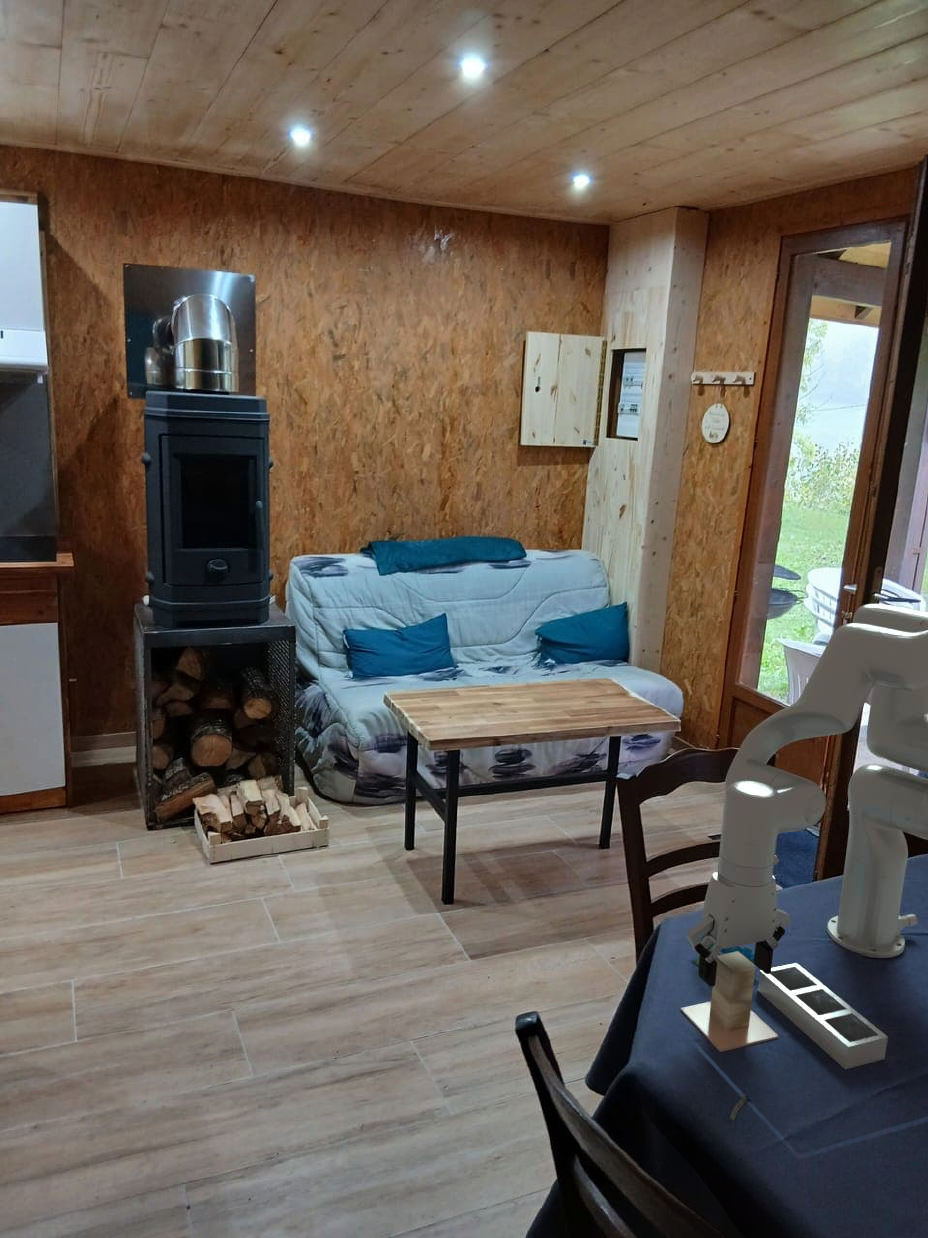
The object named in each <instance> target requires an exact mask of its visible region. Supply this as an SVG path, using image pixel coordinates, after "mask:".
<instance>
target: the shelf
mask: <svg viewBox="0 0 928 1238" xmlns="http://www.w3.org/2000/svg"><path fill="white" fill-rule="evenodd" d="M758 977H759V978H758V986H757V992H758V993H759V994H760V995H762V996H763V997H764V998H765V1000H767V1001H768V1002H769V1003H771V1004H772V1005H773V1007H775V1008H776V1009H777V1010H779V1011H780V1013H782V1014H783V1015H784V1016H785V1017H786V1018H787V1019H788V1020H790V1021H791V1023H793V1024H794V1025H795V1026H796V1027H797V1028H799V1029H800V1031H802V1032H803V1033H804V1034H805V1035H806V1036H807V1037H808V1038H810V1039H811V1041H813V1042H814V1043H815V1044H816V1045H817V1046H818V1047H820V1048H821V1049H822V1050H823V1052H825V1053H826V1054H827V1055H828V1056H830V1057H831V1058H832V1059H833V1060H834V1061H835V1062H836V1063H838V1065H840V1067H842V1068H843V1070H849V1069H852V1068H856V1067H859V1066H864V1065H867V1064H871V1063H875V1062H879V1061H882V1060H885V1058H886V1051H887V1046H888V1045H887V1044H888V1038H889V1037H888V1036H887V1035H886V1034H885V1033H884V1032H883V1031H881V1030H880V1029H879V1028H878V1027H877V1026H875V1025H874V1024H873V1023H871V1022H870V1021H869V1020H868V1019H867V1018H866V1017H864V1016H863V1015H861V1014H860V1013H859V1012H858V1011H857V1010H855V1009H854V1008H853V1007H851V1005H849V1004H848V1003H847V1002H846V1001H844V1000H843V999H842V998H841V997H840V996H838V995H837V994H836V993H834V992H833V991H832V990H830V989H829V988H828V987H827V986H826V985H824V984H823V982H821V981H820V980H819V979H818V978H816V977H814V976H813V975H812V974H811V973H810V972H808V971H807V970H806V969H805V968H803V966H801V965H800V964H798V963H797V962H794V963H790V964H785V965H781V966H775V967H771V973H770V974H765V973H764V972H763V971H762V970H760V969H759V976H758Z"/></svg>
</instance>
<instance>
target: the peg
mask: <svg viewBox="0 0 928 1238" xmlns="http://www.w3.org/2000/svg"><path fill="white" fill-rule="evenodd" d="M714 960H715V961H716V962H717V971H716V982H715V985H714V986H713V987H711V988H712V990H711V1000H710V1002H711V1007H710V1017H711V1018H712V1019H713V1020H714V1021H715V1022H716V1023H717V1024H718V1025H719V1026H720V1027H721V1028H722V1029H723V1030H724V1031H725V1032H726V1033H727V1032H731V1031H735V1030H739V1029H743V1028H747V1027H749V1021H750V1012H751V1010H752V1001H753V993H754V983H755V974H756V968H757V966H755V965H754V964H753V963H752V962H751V961H749V960H748V959H747V958H746V957H745V956H743V955H742V954H741V953H740V952H739V951H736V952H732V953H727V954H723V953H722V954H721V955H718V956H716V958H715V959H714Z"/></svg>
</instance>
